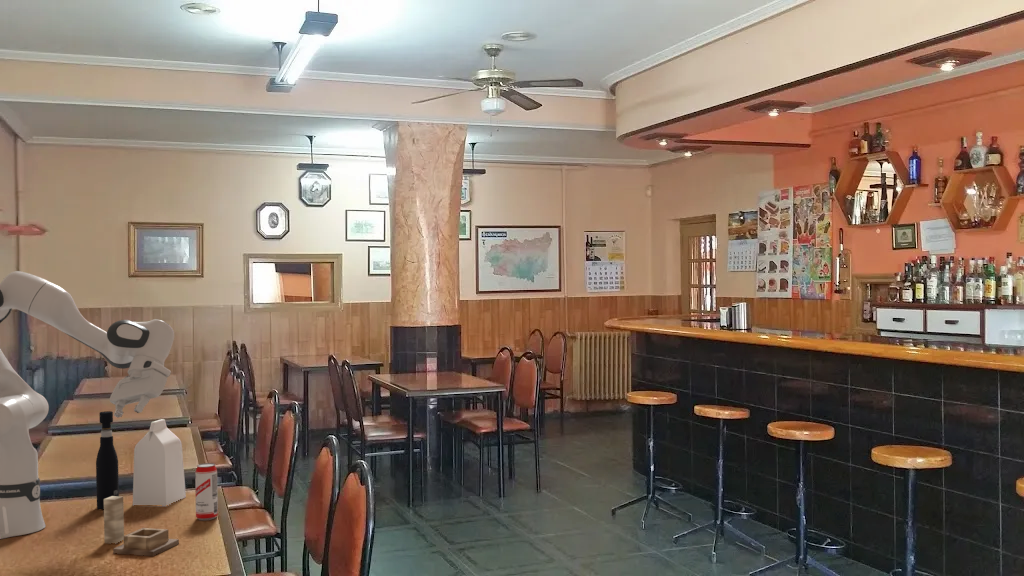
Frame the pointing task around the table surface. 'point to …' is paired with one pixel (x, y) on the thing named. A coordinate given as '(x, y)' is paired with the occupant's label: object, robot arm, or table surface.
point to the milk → (158, 467)
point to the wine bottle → (106, 462)
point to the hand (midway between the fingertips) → (127, 414)
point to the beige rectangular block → (113, 519)
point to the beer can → (206, 491)
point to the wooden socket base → (146, 542)
